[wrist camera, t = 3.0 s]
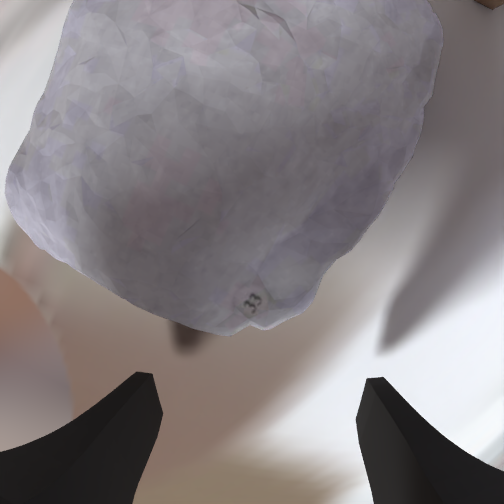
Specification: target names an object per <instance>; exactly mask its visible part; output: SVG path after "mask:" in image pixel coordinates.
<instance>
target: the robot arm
mask: <svg viewBox="0 0 504 504" xmlns="http://www.w3.org/2000/svg"><path fill="white" fill-rule="evenodd" d="M162 416H163V411H162V408H161V404H160V401H159V397H158V393H157V390H156V386H155V382H154V378H153V374H151V373H144V372H135V373H134V374H133V375H132V376H130V377H129V378H128V379H127V380H125V381H124V382H123V383H122V384H121V385H119V386H118V387H117V388H116V389H114V390H113V391H112V392H111V393H110V394H108V395H107V396H106V397H104V398H103V399H102V400H101V401H99V402H98V403H97V404H96V405H94V406H93V407H91V408H90V409H89V410H87V411H86V412H84V413H83V414H81V415H80V416H79V417H77V418H76V419H74V420H73V421H71V422H70V423H68V424H66V425H65V426H63V427H61V428H59V429H57V430H56V431H54V432H52V433H50V434H48V435H46V436H44V437H41V438H39V439H37V440H34V441H32V442H30V443H27V444H25V445H22V446H19V447H16V448H13V449H10V450H6V451H2V452H0V504H132V503H133V499H134V495H135V492H136V489H137V486H138V483H139V481H140V478H141V476H142V473H143V471H144V468H145V466H146V464H147V461H148V459H149V456H150V454H151V451H152V449H153V446H154V444H155V441H156V439H157V436H158V432H159V428H160V425H161V420H162ZM356 424H357V432H358V439H359V445H360V449H361V453H362V457H363V460H364V464H365V468H366V472H367V476H368V480H369V483H370V487H371V491H372V496H373V501H374V504H504V471H501V470H499V469H497V468H495V467H492V466H490V465H488V464H486V463H484V462H483V461H481V460H479V459H477V458H475V457H474V456H472V455H470V454H469V453H467V452H465V451H464V450H462V449H461V448H460V447H458V446H457V445H455V444H454V443H453V442H451V441H450V440H448V439H447V438H446V437H445V436H443V435H442V434H441V433H440V432H439V431H437V430H436V429H435V428H434V427H433V426H432V425H430V424H429V423H428V422H427V421H426V420H425V419H424V418H423V417H422V416H421V415H420V414H419V413H418V412H417V411H416V410H415V409H414V408H413V407H412V406H411V405H410V404H409V403H408V402H407V401H406V400H405V399H404V398H403V397H402V396H401V395H400V394H399V393H398V392H397V391H396V390H395V389H394V388H393V386H392V385H391V384H390V383H389V382H388V381H387V380H386V379H385V378H384V377H378V378H367V379H366V383H365V387H364V391H363V395H362V399H361V402H360V406H359V409H358V413H357V416H356Z"/></svg>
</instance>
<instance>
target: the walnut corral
mask: <svg viewBox="0 0 504 504" xmlns="http://www.w3.org/2000/svg"><path fill="white" fill-rule="evenodd" d="M474 1H476V2H478V3H480V4H482V5H484V6H486V7H488V8H490V9H492V10H493V9H495V8H496V7H498V6H500V5H502V4H504V0H474Z"/></svg>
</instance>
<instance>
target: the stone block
mask: <svg viewBox="0 0 504 504" xmlns="http://www.w3.org/2000/svg"><path fill="white" fill-rule="evenodd" d="M443 42H444V39H443V28H442V25H441V23H440V20H439V18H438V16H437V14H435V13H434V12H433V11H432V6H431V5H430V4H429V2H428V1H427V0H74V1H73V3H72V5H71V6H70V8H69V11H68V14H67V17H66V20H65V23H64V26H63V31H62V35H61V39H60V43H59V47H58V51H57V54H56V57H55V61H54V64H53V67H52V70H51V73H50V77H49V80H48V82H47V85H46V88H45V91H44V93H43V95H42V96H41V98H40V100H39V102H38V103H37V105H36V108H35V111H34V114H33V118H32V123H31V128H30V131H29V132H28V134H27V136H26V137H25V139H24V141H23V143H22V145H21V146H20V148H19V150H18V152H17V154H16V155H15V157H14V159H13V161H12V163H11V165H10V167H9V170H8V173H7V176H6V184H5V196H6V199H7V203H8V206H9V209H10V211H11V213H12V215H13V217H14V219H15V221H16V222H17V224H18V225H19V226H20V227H21V228H22V229H23V230H24V231H25V232H26V233H27V234H28V235H29V236H30V238H31V239H32V241H33V242H34V244H35V245H36V246H38V247H39V248H40V249H43V250H46V251H47V252H48V253H49V254H50V255H52V256H53V257H54V258H55V259H57V260H60V261H62V262H65V263H67V264H69V265H70V266H71V267H73V268H74V269H75V270H77V271H78V272H80V273H82V274H83V275H85V276H87V277H89V278H90V279H92V280H93V281H95V282H96V283H98V284H100V285H101V286H103V287H105V288H107V289H109V290H110V291H112V292H113V293H115V294H116V295H118V296H120V297H121V298H123V299H126V300H127V301H128V302H130V303H131V304H133V305H135V306H137V307H139V308H141V309H144V310H146V311H148V312H150V313H152V314H155V315H157V316H160V317H163V318H166V319H169V320H172V321H175V322H178V323H181V324H183V325H185V326H187V327H190V328H192V329H196V330H201V331H205V332H209V333H212V334H216V335H223V336H231V335H233V334H235V333H237V332H238V331H240V330H242V329H244V328H245V327H247V326H249V325H252V326H254V327H257V328H259V329H262V330H267V329H272V328H273V327H275V326H277V325H278V324H280V323H282V322H284V321H286V320H288V319H290V318H292V317H295V316H297V315H299V314H301V313H303V312H304V311H305V310H306V309H307V307H308V306H309V305H310V304H311V303H312V302H313V300H314V297H315V295H316V292H317V290H318V287H319V285H320V282H321V279H322V277H323V275H324V274H325V272H326V271H327V270H328V269H329V268H330V266H331V265H332V264H333V263H334V262H335V261H336V259H338V258H340V257H342V256H343V255H345V254H346V253H348V252H349V251H351V250H352V249H353V247H354V246H355V245H356V244H357V243H358V242H359V240H360V239H361V238H362V236H363V235H364V233H365V232H366V230H367V229H368V228H369V226H370V225H371V224H372V223H373V222H374V221H375V219H376V218H377V217H378V215H379V214H380V212H381V210H382V209H383V207H384V205H385V203H386V202H387V200H388V198H389V196H390V194H391V193H392V191H393V190H394V187H393V184H394V183H395V182H396V181H397V179H398V178H399V177H400V175H401V174H402V172H403V171H404V169H405V168H406V166H407V164H408V163H409V161H410V160H411V159H412V157H413V153H414V150H415V147H416V144H417V142H418V140H419V138H420V135H421V131H422V127H423V121H424V106H425V105H426V104H427V103H428V101H429V99H430V98H431V97H432V96H433V90H434V82H435V77H436V73H437V68H438V66H439V61H440V56H441V51H442V47H443Z"/></svg>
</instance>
